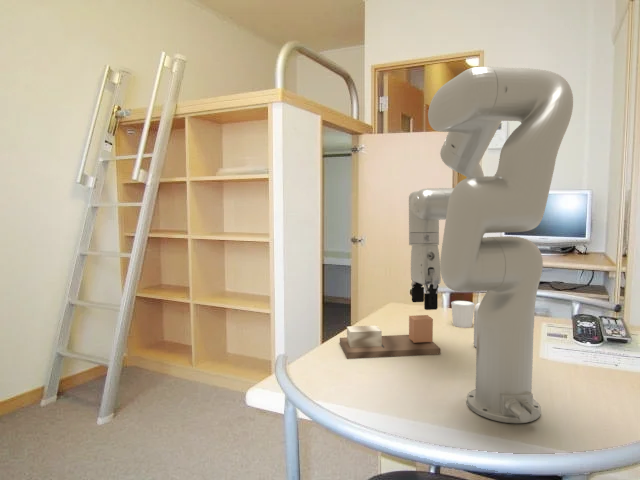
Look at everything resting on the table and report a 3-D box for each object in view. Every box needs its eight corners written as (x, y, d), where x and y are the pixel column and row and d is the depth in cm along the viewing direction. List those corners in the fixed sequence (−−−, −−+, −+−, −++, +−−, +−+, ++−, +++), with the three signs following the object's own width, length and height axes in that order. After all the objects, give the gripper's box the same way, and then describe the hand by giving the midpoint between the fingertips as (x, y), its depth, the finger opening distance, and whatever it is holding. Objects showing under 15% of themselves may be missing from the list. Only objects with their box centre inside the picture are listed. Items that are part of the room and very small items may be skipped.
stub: (413, 342, 114) (414, 319, 113) (408, 337, 117) (409, 315, 117) (432, 341, 114) (432, 318, 114) (427, 337, 118) (427, 315, 117)
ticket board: (347, 358, 108) (347, 336, 107) (339, 343, 120) (339, 323, 119) (440, 354, 110) (440, 332, 110) (423, 339, 122) (424, 319, 122)
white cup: (446, 323, 138) (446, 301, 138) (465, 321, 140) (465, 299, 140) (459, 329, 132) (459, 306, 131) (479, 327, 134) (479, 304, 133)
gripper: (451, 240, 105) (451, 312, 106) (426, 237, 122) (426, 298, 123) (421, 241, 104) (421, 313, 105) (399, 238, 122) (400, 299, 122)
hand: (424, 305), depth 114 cm, fingers open, 9 cm apart
